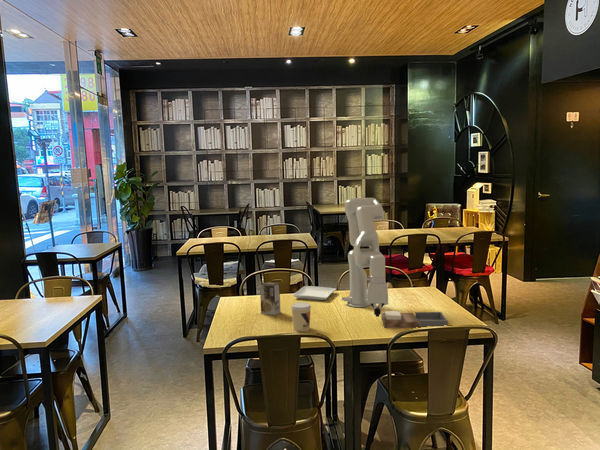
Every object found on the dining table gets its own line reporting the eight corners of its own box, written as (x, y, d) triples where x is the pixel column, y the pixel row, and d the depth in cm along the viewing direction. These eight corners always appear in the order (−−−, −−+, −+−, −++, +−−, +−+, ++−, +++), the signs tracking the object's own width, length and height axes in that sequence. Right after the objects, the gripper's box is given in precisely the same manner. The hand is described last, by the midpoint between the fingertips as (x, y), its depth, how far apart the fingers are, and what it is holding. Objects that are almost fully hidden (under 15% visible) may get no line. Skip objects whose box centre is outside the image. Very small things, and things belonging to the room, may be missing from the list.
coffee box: (281, 312, 258) (280, 283, 256) (275, 315, 252) (274, 285, 250) (266, 310, 262) (265, 281, 260) (260, 313, 256) (259, 284, 254)
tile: (386, 319, 233) (386, 315, 233) (385, 315, 240) (385, 311, 240) (401, 319, 232) (401, 315, 232) (399, 315, 239) (399, 311, 239)
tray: (418, 327, 229) (418, 320, 229) (413, 318, 243) (413, 312, 242) (447, 327, 228) (447, 320, 228) (440, 318, 242) (441, 311, 241)
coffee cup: (304, 333, 225) (304, 308, 223) (288, 330, 230) (287, 306, 228) (314, 327, 233) (314, 303, 231) (298, 324, 238) (297, 301, 236)
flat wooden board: (384, 328, 230) (384, 322, 229) (381, 318, 244) (381, 312, 243) (418, 327, 229) (418, 321, 229) (412, 318, 243) (413, 312, 242)
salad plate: (326, 302, 275) (326, 297, 275) (292, 299, 282) (292, 294, 282) (336, 293, 295) (336, 287, 294) (304, 290, 302) (304, 285, 302)
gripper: (362, 281, 231) (362, 318, 233) (393, 281, 230) (393, 318, 232) (361, 278, 238) (361, 313, 241) (391, 278, 237) (391, 313, 240)
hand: (377, 316), depth 236 cm, fingers closed
